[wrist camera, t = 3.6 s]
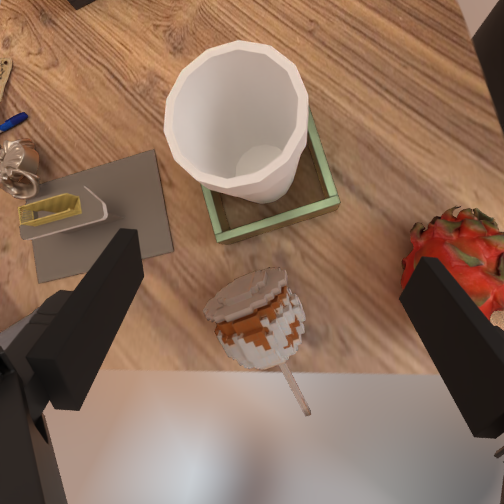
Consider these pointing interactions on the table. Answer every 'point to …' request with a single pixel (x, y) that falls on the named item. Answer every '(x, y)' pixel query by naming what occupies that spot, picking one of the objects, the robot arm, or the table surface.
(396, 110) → the table surface
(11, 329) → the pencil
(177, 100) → the foam cup
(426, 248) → the dragon fruit
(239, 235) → the olive square frame
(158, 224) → the platform
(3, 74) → the tool
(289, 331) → the caramel apple
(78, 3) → the dark grey square tray
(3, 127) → the ballpoint pen
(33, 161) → the ornament
